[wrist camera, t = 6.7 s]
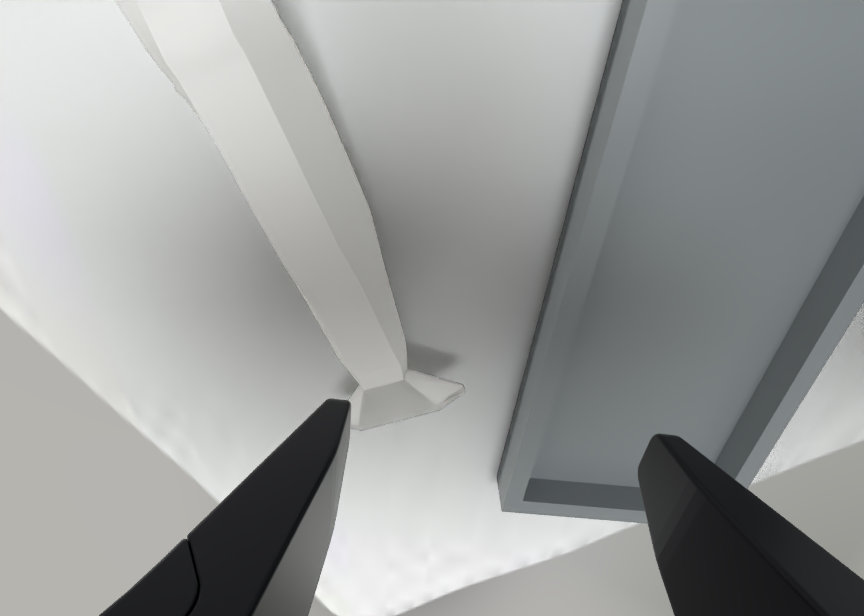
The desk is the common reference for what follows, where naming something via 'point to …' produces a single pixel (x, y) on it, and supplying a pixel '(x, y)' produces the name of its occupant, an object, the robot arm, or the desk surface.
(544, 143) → the desk surface
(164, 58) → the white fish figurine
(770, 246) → the razor tray
